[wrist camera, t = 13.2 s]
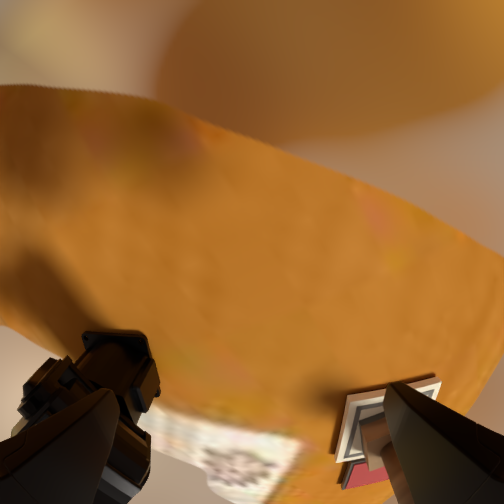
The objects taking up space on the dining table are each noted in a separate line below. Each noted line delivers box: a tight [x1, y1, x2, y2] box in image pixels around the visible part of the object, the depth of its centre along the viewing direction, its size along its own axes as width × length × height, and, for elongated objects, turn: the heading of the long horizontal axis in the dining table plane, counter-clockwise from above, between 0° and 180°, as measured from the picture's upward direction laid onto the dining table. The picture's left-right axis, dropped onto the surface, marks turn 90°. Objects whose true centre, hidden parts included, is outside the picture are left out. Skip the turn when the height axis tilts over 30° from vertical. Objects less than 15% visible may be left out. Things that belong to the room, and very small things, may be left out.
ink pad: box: [341, 458, 389, 490], centre depth 26 cm, size 8×7×1 cm
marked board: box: [334, 376, 442, 463], centre depth 24 cm, size 10×10×1 cm
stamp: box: [359, 411, 414, 504], centre depth 18 cm, size 6×6×11 cm
